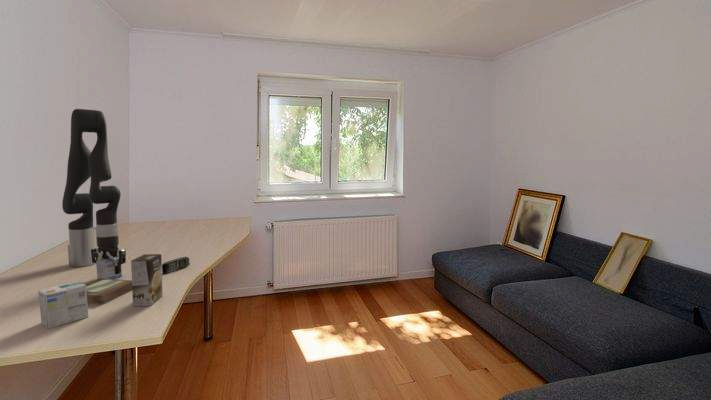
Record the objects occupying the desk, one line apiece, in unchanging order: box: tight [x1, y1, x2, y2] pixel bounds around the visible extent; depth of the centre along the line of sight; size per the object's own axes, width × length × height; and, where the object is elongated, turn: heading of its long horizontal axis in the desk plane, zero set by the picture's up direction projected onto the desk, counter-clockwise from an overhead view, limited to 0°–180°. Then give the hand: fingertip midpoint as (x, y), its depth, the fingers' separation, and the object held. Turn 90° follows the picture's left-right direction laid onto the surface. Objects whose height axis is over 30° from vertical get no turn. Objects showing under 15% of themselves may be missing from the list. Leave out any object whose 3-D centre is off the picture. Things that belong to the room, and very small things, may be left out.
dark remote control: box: [162, 256, 191, 274], centre depth 167 cm, size 5×3×15 cm
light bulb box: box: [37, 280, 89, 330], centre depth 114 cm, size 11×7×11 cm, turn 145°
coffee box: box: [130, 253, 164, 307], centre depth 130 cm, size 9×6×16 cm
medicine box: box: [95, 257, 123, 279], centre depth 152 cm, size 8×4×9 cm, turn 168°
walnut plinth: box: [84, 278, 132, 305], centre depth 136 cm, size 16×16×3 cm
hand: (109, 273), depth 152 cm, fingers open, 7 cm apart
